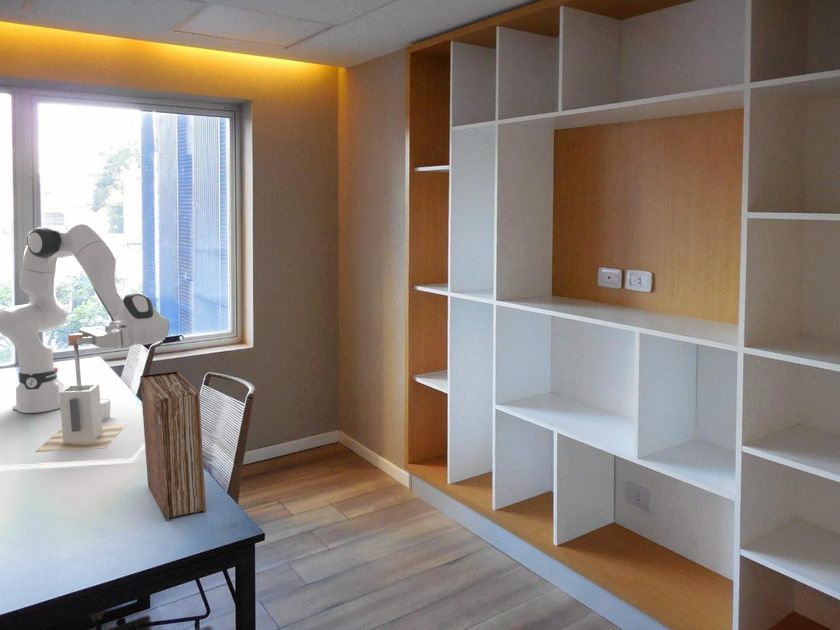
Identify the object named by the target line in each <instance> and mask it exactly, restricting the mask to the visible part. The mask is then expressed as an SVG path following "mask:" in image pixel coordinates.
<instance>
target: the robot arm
mask: <svg viewBox="0 0 840 630" xmlns="http://www.w3.org/2000/svg"><path fill="white" fill-rule="evenodd" d="M25 247H26V248H25V249H24V253H23V257H22V262H21V268H20V276H19V277H20V278H19V288H20V289H21V291H22V292H24V293H25V294H26V295H28V298H29V302H28V303H25V304H20V305H19V304H18V305H13V306H12V305H11V306H10V307H7V308H4V309H2V310H0V334H2V335H3V336H5V337H6V338H8V339H9V341H10V342H11V343H12V345H13V346H14V347H15V350H16V353H17V354H16V355H17V358H18V359H17V360H18V368H19V371H18V381H19V384H18V386H16V388H15V400H16V402H15V404H16V405H13V406H12V410H13V409H15V410H14V411H17V412H19V413H23V414H34V413H35V414H36V413H46V412H51V411H54V410H58V409H60V398H59V392H60V391H62V390H63V389H65V388H66V386H65V384H64V383H63V382H62V381H60V380H59V379H58V375H57V374H58V371H59V369H58V367H57V366H56V367H55V365H54V364H55V363H54V355H53V349H52V348H51V346H50V345H48V344H46V343H43V341H42V340H41V338H40V335H39V333H44V332H49V331H53V330H55V329H58V328H60V327H62V326H63V325H64V324H65V323H66V320H67V311H66V309H65V307H64V306H63V304H62V303H60V302H59V301H58V299H57V296H56V291H55V290H56V289H55V287H56V279H57V271H58V270H57V269H58V262H59V259H60V258H61V259H62V258H67V257H74V258H75V259H76V261H77V262H78V264H79V265H80V266H81V267H82V270H83V271H84V273H85V275H86V277H87V278H88V280H89V282H90V284H91V286H92V288H93V291H94V292H95V294H96V296H97V297H98V299H99V300H100V302H101V304H102V305H103V308H104V309H105V311H106V312H107V314H108V315H109V317H110V319H111V321H110V322H109V324H108V325H105V326H90V327H82V328H78V333H76V334H82V337H83V338H81V337H80V338H76V339H75V343H76V344H81V345H92V346H95V347H98V348H101V349H102V348H104V349H106V348H107V349H108V348H113V349H127V348H129V347H133V346H134V345H140V346H141V345H142V346H144V345H151V344H155V343H160V342H162V341H165V340H166V338H167V336H168V335H169V332H170V331H169V329H170V326H169V325H170V323H169V320H168V318H167V317H165V316H163V315H162V314H160V312H158V311H157V309H156V308H155V306H154V305H153V302H152V301H151V299H150V297H148V296H147V295H145V294H144V293H140V292H131V293H127V294H126V295H125V296H124V298H122V296H121V295H120V293H119V291H118V289H117V285H116V269H117V268H116V267H117V259H116V256H115V254H114V251H113V250H112V248H111V246H109V244H108V243H107V241H106V240H105V239H104V238H103V237H102V236H101V235H100V234H99V233H98V232H97V230H95V229H94V228H93V227H92V226H90V225H89V224H87V223H76V224H73V225H67V224H66V225H65V224H61V225H60V224H58V225H54V226H53V225H52V226H51V225H50V226H38V227H35V228H32V229H31V230H30V231H29V233H28V235H27V238H26V246H25Z"/></svg>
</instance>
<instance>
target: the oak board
mask: <svg viewBox="0 0 840 630" xmlns="http://www.w3.org/2000/svg"><path fill="white" fill-rule="evenodd" d="M126 426H127V423H126V424H125V423H124V424H106V425H105V424H104V425H103V424H102V430H103V432H102V433H101V434H100V435H99V437H98V438H97V439H96V440H95V441H87V442H67V443H63V433H62V428H61V429H59V430H58V431H57V432H56V433H54V435H53V436H52V437H50V438H49V439H48V440H47V441H46V442H45V443H43V444H42V445H41V446H40V447H39V448H37V450H35V453H42V452H61V451H62V452H63V451H64V452H65V451H83V450H98V449H102V450H103V449H106V448H108V446H109V445H110V444H112V443H111V442H113V441H114V440H115V438H116V437H117V436H118V435H119V434H120V433H121V431H122V430H123V429H124V428H125V427H126Z"/></svg>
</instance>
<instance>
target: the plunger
mask: <svg viewBox="0 0 840 630" xmlns="http://www.w3.org/2000/svg"><path fill="white" fill-rule="evenodd" d="M80 337H81V338H83V337H82V334H77V333H70V334H67V341H68V343H67V344H68V346H73V351H74V365H75V366H74V367H75V374H76V375H75V376H76V377H75V378H76V385H77V390H78V391H82V387H81V385H82V377H81V364H80V354H79V353H80V351H79V346H81V345H82V344H76V343H75V339H76V338H80Z"/></svg>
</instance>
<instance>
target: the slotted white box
mask: <svg viewBox="0 0 840 630" xmlns="http://www.w3.org/2000/svg"><path fill="white" fill-rule="evenodd" d="M81 387H82V391H78V390H77V384H69V385H68V386H65V389H63V390H62V391H60V392H59V398H60V408H59V409H60V419H61V429H62V433H63V443H67V442H87V441H95V440H96V439H97V438H98V437H99V435H100V434H101V433H102V432H103V430H102V425H103V419H102V417H101V404H100V399H101V395H100V391H101V390H100V383H93V384H91V383H89V384H87V383H86V384H81Z"/></svg>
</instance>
